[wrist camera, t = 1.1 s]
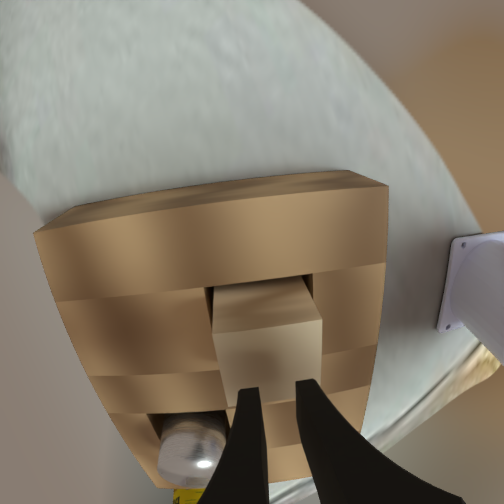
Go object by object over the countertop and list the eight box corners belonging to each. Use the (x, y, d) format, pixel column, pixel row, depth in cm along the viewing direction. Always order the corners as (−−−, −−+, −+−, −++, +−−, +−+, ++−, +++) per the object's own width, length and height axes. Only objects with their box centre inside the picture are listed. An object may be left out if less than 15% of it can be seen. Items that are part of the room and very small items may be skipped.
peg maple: (296, 266, 16) (322, 319, 11) (298, 331, 17) (320, 393, 13) (214, 276, 16) (212, 334, 11) (226, 341, 17) (228, 406, 13)
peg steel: (219, 393, 19) (220, 455, 14) (229, 429, 20) (231, 486, 16) (157, 396, 19) (147, 456, 14) (173, 433, 20) (168, 488, 16)
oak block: (348, 170, 18) (388, 186, 13) (336, 424, 26) (351, 467, 21) (75, 206, 17) (33, 232, 12) (162, 444, 25) (157, 488, 20)
